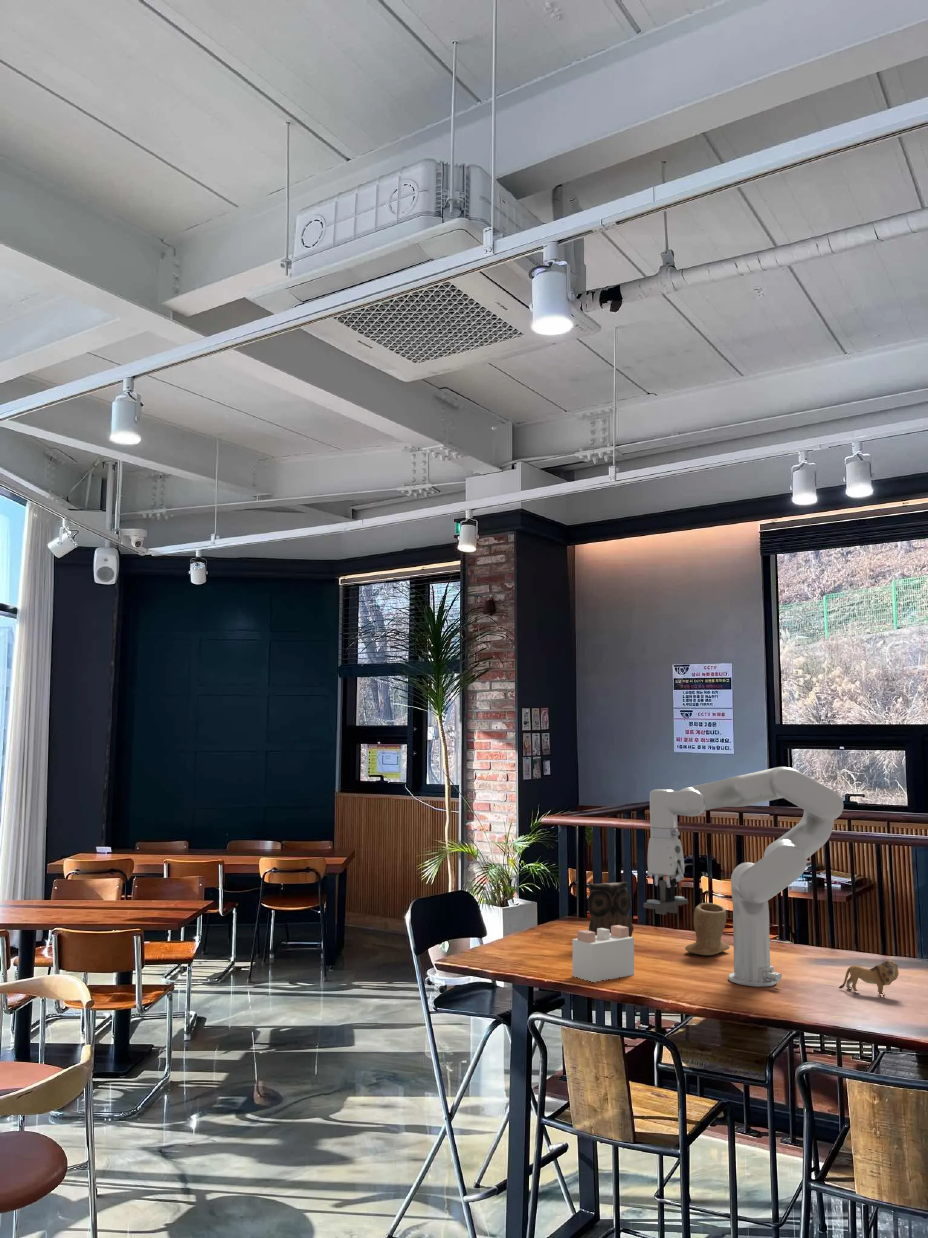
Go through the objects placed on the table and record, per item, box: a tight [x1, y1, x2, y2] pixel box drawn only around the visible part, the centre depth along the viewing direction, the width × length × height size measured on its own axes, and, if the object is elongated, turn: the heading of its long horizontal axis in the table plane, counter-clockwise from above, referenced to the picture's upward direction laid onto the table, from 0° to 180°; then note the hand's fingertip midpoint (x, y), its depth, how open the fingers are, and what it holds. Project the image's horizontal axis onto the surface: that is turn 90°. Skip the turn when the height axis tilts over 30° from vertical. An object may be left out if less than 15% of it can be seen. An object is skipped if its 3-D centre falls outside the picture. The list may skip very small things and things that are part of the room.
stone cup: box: [684, 902, 730, 956], centre depth 291 cm, size 15×12×15 cm
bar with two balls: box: [643, 879, 689, 916], centre depth 262 cm, size 4×15×9 cm, turn 126°
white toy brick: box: [571, 925, 635, 983], centre depth 261 cm, size 8×16×12 cm, turn 126°
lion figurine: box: [838, 959, 900, 995], centre depth 246 cm, size 15×5×9 cm, turn 64°
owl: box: [587, 881, 635, 937], centre depth 299 cm, size 13×13×20 cm
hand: (666, 900), depth 262 cm, fingers closed on bar with two balls, 2 cm apart
